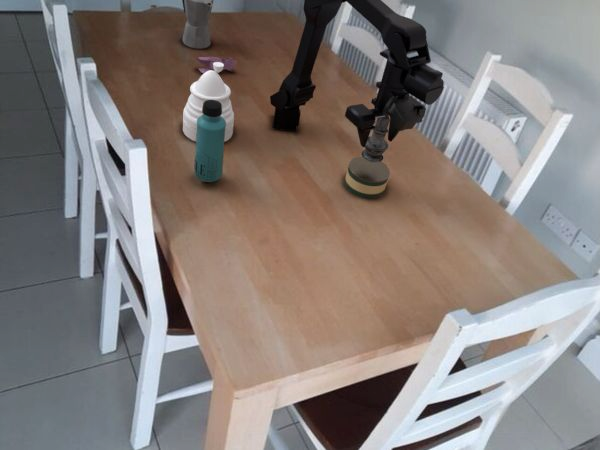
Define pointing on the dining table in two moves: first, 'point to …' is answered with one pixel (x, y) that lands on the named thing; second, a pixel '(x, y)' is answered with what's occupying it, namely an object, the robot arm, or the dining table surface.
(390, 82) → the robot arm
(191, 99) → the honey pot
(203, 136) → the beverage bottle
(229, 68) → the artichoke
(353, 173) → the tin
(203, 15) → the coffeepot
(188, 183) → the dining table surface
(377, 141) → the grey stone figurine
